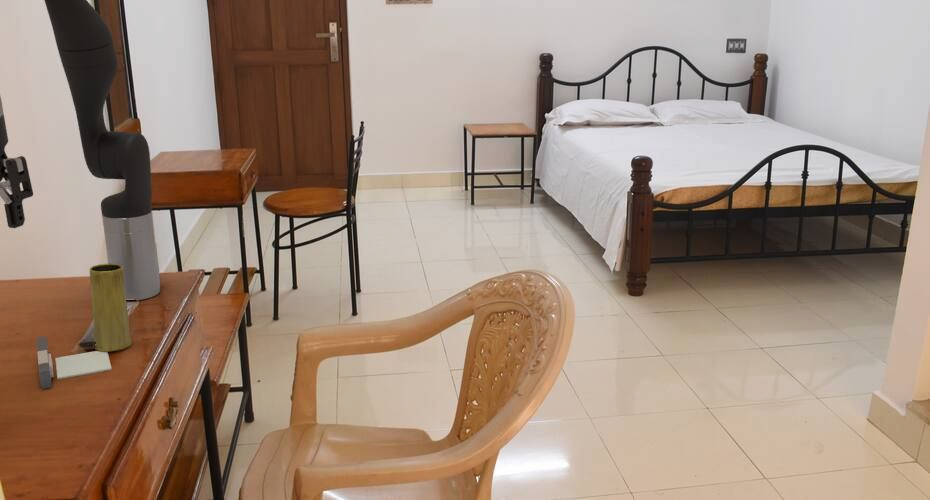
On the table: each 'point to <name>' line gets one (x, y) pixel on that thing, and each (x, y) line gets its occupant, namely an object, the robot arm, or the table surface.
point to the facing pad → (82, 364)
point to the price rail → (44, 363)
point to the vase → (109, 308)
